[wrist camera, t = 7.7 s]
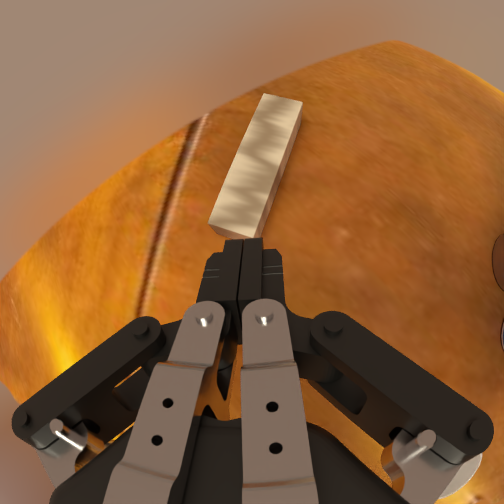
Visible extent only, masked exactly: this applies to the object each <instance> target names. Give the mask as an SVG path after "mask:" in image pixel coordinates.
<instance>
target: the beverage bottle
mask: <svg viewBox="0 0 504 504" xmlns="http://www.w3.org/2000/svg"><path fill="white" fill-rule="evenodd" d="M501 340H502V346H503V349H504V323H503V327H502V334H501Z"/></svg>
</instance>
